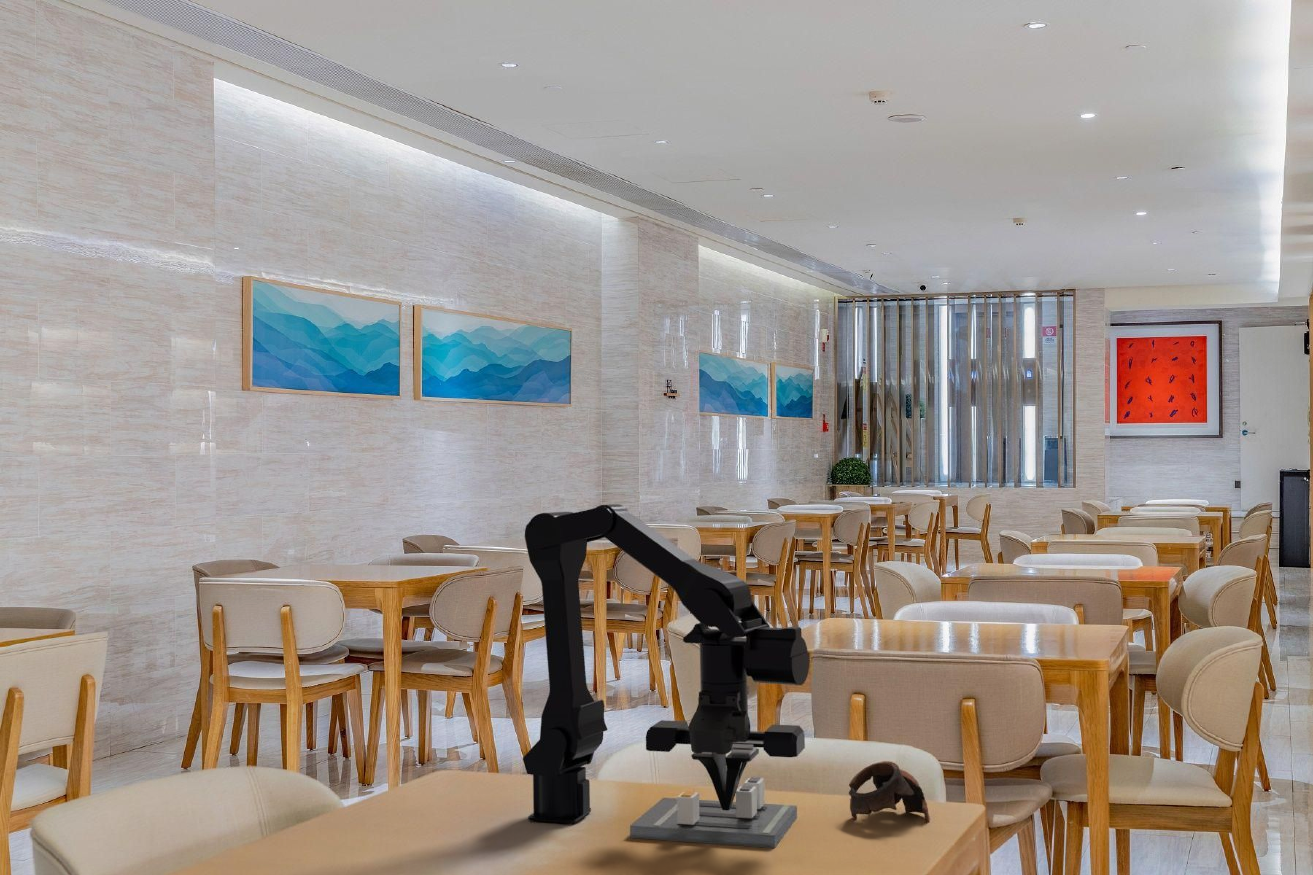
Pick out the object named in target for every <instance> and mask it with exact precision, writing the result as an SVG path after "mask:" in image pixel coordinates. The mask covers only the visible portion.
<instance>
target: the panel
mask: <svg viewBox="0 0 1313 875" xmlns="http://www.w3.org/2000/svg"><path fill="white" fill-rule="evenodd" d="M797 818H798V805H790V804H776V803H775V804H774V803H765V804H764V805H763V806H762V807H761V808H760V809H757V813H756V814H755V815H754V817H753V818H739V817H736V801H733V803H732V806H731V809H730V810H729V811H727V810H722V807H721V805H720V802H719V800H710V799H709V800H708V799H699V820H698V821H697V822H696V823H695V824H694V825H691V824H678V820H677V797H676V798H675V797H662V798H661V799H660V800H659V801H657V802H656V803H655V804H654V805H652V806H651V807H650V808H649V809H648V810H646V811H645V812H644V813H643V814H642V815H641V816H640V817H638V818H637V819H636V820H634V821H633V823H631V824H630V826H629V833H630V834H629V837H630V839H643V840H656V841H668V842H669V841H670V842H684V843H685V842H686V843H697V844H712V845H727V846H737V847H738V846H741V847H752V848H753V847H754V848H757V847H758V848H767V849H769V848H771V849H775V848H777V846H778V844H779V843H780V842H781V841H782V839H783V838H784V836H785V835H786V834H787V832H788V831H789V829H790V828H791V827H792V825H793V824H794V823H795V822H796V820H797Z"/></svg>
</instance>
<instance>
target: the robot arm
mask: <svg viewBox="0 0 1313 875" xmlns="http://www.w3.org/2000/svg"><path fill="white" fill-rule="evenodd" d="M604 538H605V539H606V540H608V541H609V542H611V544H613V545H614V546H616V547H617V548H618V549H620V550H621V551H623V552H624V553H625V554H626V555H628V556H629V557H630V558H632V559H633V560H635V561H636V562H638V563H639V564H640V565H642V566H643V567H644V568H646V569H647V570H648V571H649V572H652V574H654V575H655V576H656V577H658V578H660V580H662V581H663V582H664V583H666V584H667V585H668V586H669V587H670V588H671V589H672V590H673V591H674V592H675V594H676V595H677V597H678V599H679V601H680V603H681V604H682V606H684V607H685V609H686V610H687V611H689V613H690V614H691V615H692V616H693V617H694V618H695V619H696V620H697V621H698V622H699V623H694V626H693V627H692V629H691V630H690V631H689V632H688V633H687V634H686V635H685V636H684V637H683V638H682V641H683V643H685V644H699V669H700V670H699V672H700V674H699V677H700V691H698V698H697V700H698V704H697V707H696V711H695V712H694V714H693V715H692V718H691V720H690V722H689V724H688V721H687V720H662V719H661V720H659V721H658V722H656V723H654V724H653V725H651V726H650V727H649V728H648V729H647V730H646V735H645V750H646V751H648V752H662V753H669V752H671V751H672V750H673V749H674V748H676V746H677V745H690V749H691V752H692V754H691V755H690V757H691V759H692V760H694V761H699V762H700V764H702V766H704V768H705V770H706V772H707V774H708V775H709V777H710V779H711V782H712V784H713V788H714V791H715V793H716V796H717V799H718V801H719V802H720V805H721V807H722V810H727V811H729V810H730V809H731V806H732V803H733V802H734V799H735V798H736V791H737V789H738V788H739V784H740V781H741V779H742V775H743V772H744V771H745V769H746V766H747V764H748V763H749V762H751V761H752V760H754V759H755V758H756V757H757V756H758V755H759V753H760V749H759V748H763V751H765V753H766V754H767V756H769V757H770V758H771V757H775V758H795V757H796V758H797V757H799V755H800V754H801V753H802V752H803V750H804V749H806V743H805V742H806V741H805V740H806V739H805V732H804V730H803V728H802V727H801V726H800V725H794V724H793V725H792V724H771V725H770V726H769V727H768V728H767V729H766V730H764V731H756V730H755V731H754V730H751V722H750V716H749V709H748V708H749V705H748V704H749V703H748V700H749V698H748V695H749V689H750V688H749V685H748V677H751V680H752V681H753V682H754V683H756V684H757V683H759V684H775V685H789V686H790V685H791V686H802V685H804V684H805V682H806V680H807V678H808V675H809V671H810V664H811V663H810V662H811V661H810V658H811V657H810V654H811V653H810V652H809V651H808V647H807V643H806V641H805V639H804V638H803V637H802V636H803V635H802V628H801V626H788V627H770V624H769V623H768V621H767V619H766V618H765V617H764V616H763V614H762V612H761V611H760V610H759V608H758V607H757V606H756V603H754V602H753V598H752V594H751V588H750V587H749V585H748V583H747V582H746V581H744V580H743V578H742V579H741V578H740V577H738V576H736V575H734V574H732V573H729V572H727V571H726V570H723V569H721V568H718V567H716V566H712V565H709V564H706V563H703V562H701V561H700V560H697V559H695V558H693V557H692V556H691V555H689V554H688V553H686V552H685V551H684V550H682V549H680V547H678V545H677V546H676V545H675V544H674V543H673V542H672V541H671V540H669V539H667V538H666V537H664V536H663V535H662V534H660V533H658V532H657V531H656V530H655V529H653V528H652V527H651V526H650V525H648V524H647V523H645V522H644V521H642V520H641V519H639V517H636V516H635V515H633V514H632V513H631V512H630V510H629V509H628V508H627V507H625V506H624V505H623V504H620V503H619V504H617V503H615V504H613V503H612V504H600V505H598V506H596V507H593V508H589V509H586V510H585V509H584V510H581V511H580V510H579V511H576V512H572V511H556V512H551V511H550V512H541V513H537V514H536V515H534V516H533V517H531V519H529V522H528V523H527V524H526V526H525V529H524V541H525V545H526V550H527V555H528V558H529V559H528V560H529V562H530V564H531V565H532V568H533V569H534V572H535V573H536V574H537V576H538V578H539V580H540V582H541V591H542V594H541V595H542V606H543V616H544V620H543V621H544V631H545V633H544V634H545V645H546V658H547V673H548V686H549V691H548V692H549V693H548V695H547V699H546V702H545V704H544V707H543V709H542V712H541V717H540V730H539V731H540V732H539V740H538V741H537V742H536V743H535V744H534V745H533V746H532V747H531V748H530V750H528V752H527V753H526V754H525V755H524V756H523V758H522V761H523V765H524V768H525V771H526V774H528V775H532V788H533V789H532V791H533V792H532V794H533V795H532V798H533V800H532V802H533V803H532V804H533V806H532V807H533V808H532V809H533V810H532V811H533V812H532V813H531V814H530V815H528V817H527V818H528V819H527V820H528V821H531V822H535V821H536V822H545V823H546V822H548V823H558V824H559V823H561V824H564V823H565V824H575V823H576V824H577V822H579V821H580V820H581V819H583V818H584V817H585V816H587V815H588V814H590V813H591V811H592V808H591V803H590V802H591V799H590V798H591V795H590V794H591V793H590V790H591V789H590V786H591V785H590V779H587V776H586V775H587V772H586V769H587V768H586V767H585V766H586V765H587V766H588V765H591V764H592V762H593V758H594V754H595V752H596V751H598V749H599V747H600V746H601V745H602V743H603V740H604V732H607V731H608V727H607V724H606V720H605V702H604V700H603V699H599V700H595V699H594V697H593V696H592V694H591V692H590V690H589V689H588V686H587V675H586V662H585V660H586V659H585V650H584V649H585V648H584V636H583V623H582V610H581V600H580V599H581V596H580V584H579V582H580V581H579V580H580V579H579V578H580V575H581V572H582V569H583V567H584V564H585V560H586V558H587V551H588V550H587V549H588V548H587V546H588V543H591V542H595V541H598V540H603V539H604ZM714 627H715V628H714ZM727 754H728V755H727Z"/></svg>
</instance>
